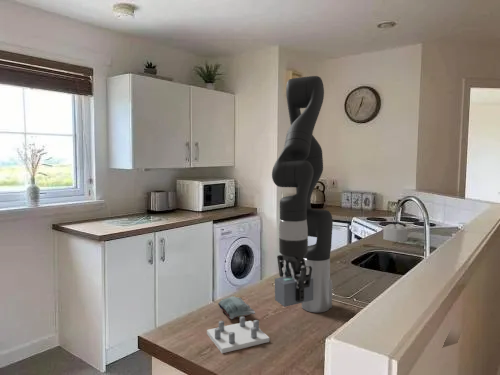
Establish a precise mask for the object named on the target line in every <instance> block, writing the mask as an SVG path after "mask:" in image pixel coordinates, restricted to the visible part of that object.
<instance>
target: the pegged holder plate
mask: <svg viewBox="0 0 500 375" xmlns="http://www.w3.org/2000/svg"><path fill="white" fill-rule="evenodd" d="M206 335H207V336H208V338H210V340H211V342H212V343H213V344H214V345H215V346H216V347H217V350H219V352H220V353H221V354H225V353H228V352H232V351H237V350H241V349H245V348H249V347H253V346H258V345H262V344H265V343H270V336H268V335H267V334H266V333H265V332H264V331H263V330H262V329H261V328H260V320H258V319H255V320H253V321H252V320H248V321H247V320H246V317H245V316H242V317H239V323H232V324H228V325H225V320H219V321H218V327H214V328H209V329H206Z"/></svg>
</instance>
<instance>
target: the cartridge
mask: <svg viewBox="0 0 500 375" xmlns="http://www.w3.org/2000/svg"><path fill="white" fill-rule="evenodd" d="M300 275H301V273H300V274H297V275H296V276H300ZM298 282H299V283H300V279H298ZM305 283H306V281H305ZM274 300H275V301H276V302H277V303H278V304H280V305H281V306H283V307H284V308H285V307H290V306H294V305H298V304H299V305H300V304H302V303H303V302H307V301H312V300H313V278H311V280H310V286H309V287H307V288H304V301H302V302H297V301H296V287H295V281H294V280H293V279H292V275H290V276H287V277H280V276H279V277H277V278H274Z"/></svg>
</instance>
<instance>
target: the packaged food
mask: <svg viewBox="0 0 500 375" xmlns="http://www.w3.org/2000/svg"><path fill="white" fill-rule="evenodd" d="M217 305H218V306H219V308H220V309H221V310H222V311H223V313H225V315H226V316H227V317H228V318H229V319H231V320H233V319H238V318H240V317H242V316H243V317H245V316H249V315H256V311H255V310H254V309H253V308H251V307H250V305H249V304H248V303H246V301H244V300H243V298H242V297H238V296H234V295H233V296H230V297H227V298H223V299H222V300H220V301H219V302H218V304H217Z"/></svg>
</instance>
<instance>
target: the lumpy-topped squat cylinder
mask: <svg viewBox="0 0 500 375" xmlns="http://www.w3.org/2000/svg"><path fill="white" fill-rule="evenodd" d="M408 231H409V229H408V228H407V227H405V226H404V225H402V224H399V223H396V224H393V223H389V224H387V225H386V226H383V237H382V239H383V240H386V241H390V242H399V241H403V242H408V236H409V235H408V234H409V232H408Z"/></svg>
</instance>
